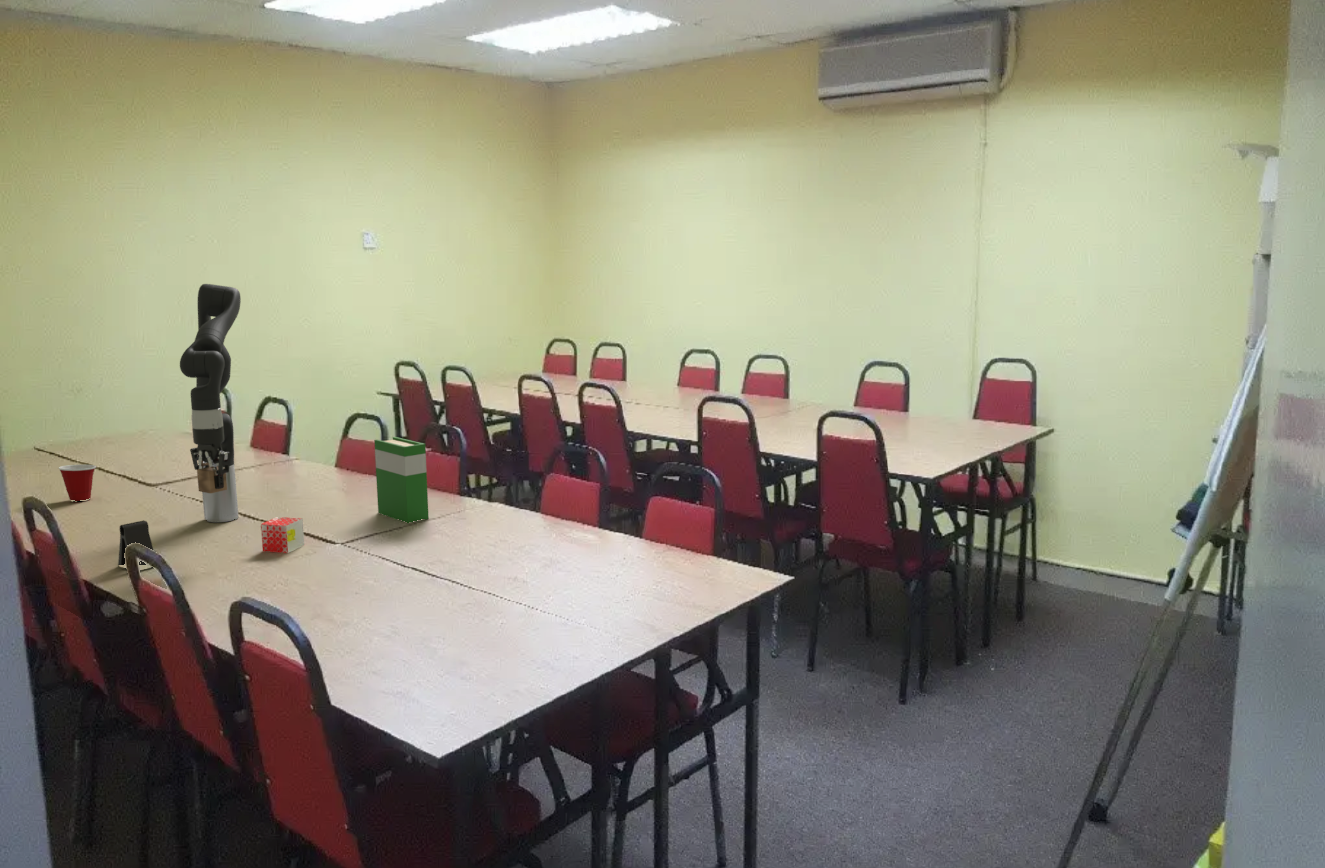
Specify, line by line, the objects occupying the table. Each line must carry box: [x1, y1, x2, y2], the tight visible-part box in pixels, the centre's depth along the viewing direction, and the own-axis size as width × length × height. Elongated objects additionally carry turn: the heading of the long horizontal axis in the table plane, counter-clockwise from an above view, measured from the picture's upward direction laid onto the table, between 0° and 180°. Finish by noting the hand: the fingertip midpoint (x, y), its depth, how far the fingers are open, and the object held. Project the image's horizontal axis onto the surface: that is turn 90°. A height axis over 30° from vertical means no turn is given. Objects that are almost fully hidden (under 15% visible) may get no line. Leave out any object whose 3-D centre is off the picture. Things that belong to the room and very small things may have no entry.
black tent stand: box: [117, 520, 154, 570], centre depth 247 cm, size 9×6×12 cm, turn 53°
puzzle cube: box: [260, 516, 305, 554], centre depth 265 cm, size 8×8×8 cm
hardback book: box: [374, 436, 430, 524], centre depth 297 cm, size 18×7×24 cm, turn 46°
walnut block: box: [196, 467, 227, 493], centre depth 255 cm, size 5×5×6 cm
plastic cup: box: [58, 464, 97, 501], centre depth 317 cm, size 11×11×12 cm
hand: (212, 486), depth 255 cm, fingers closed on walnut block, 5 cm apart
